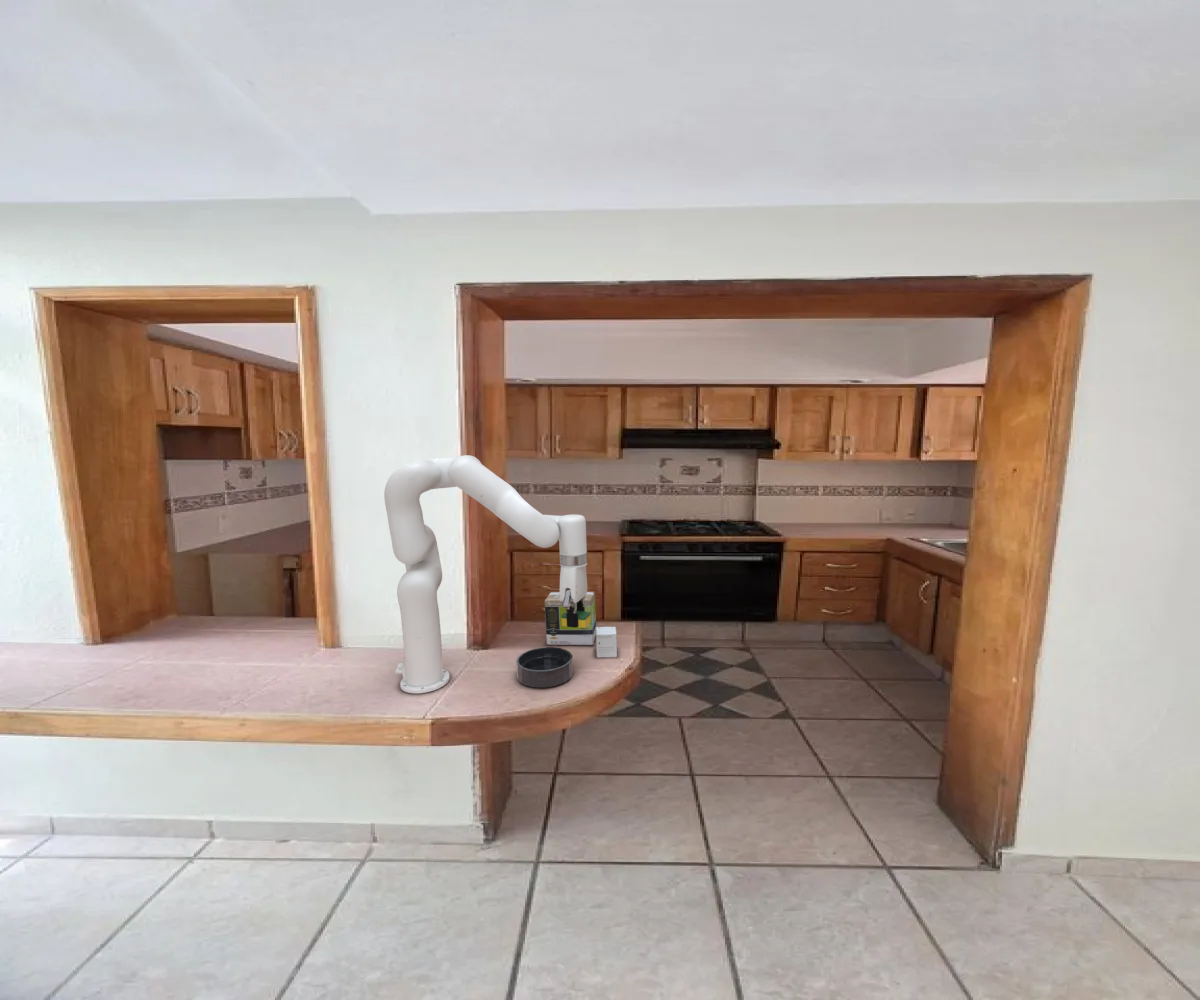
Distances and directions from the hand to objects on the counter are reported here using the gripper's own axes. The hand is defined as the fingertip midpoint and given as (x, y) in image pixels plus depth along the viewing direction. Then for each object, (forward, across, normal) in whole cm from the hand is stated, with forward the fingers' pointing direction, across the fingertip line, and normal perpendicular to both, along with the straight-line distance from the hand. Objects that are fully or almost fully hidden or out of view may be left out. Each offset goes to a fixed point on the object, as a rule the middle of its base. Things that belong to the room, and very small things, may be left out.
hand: (576, 622), depth 139 cm
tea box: (+13, -18, -9) cm, 24 cm away
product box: (+14, -11, +5) cm, 18 cm away
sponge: (0, 0, 0) cm, 0 cm away
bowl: (+13, +7, -7) cm, 16 cm away
